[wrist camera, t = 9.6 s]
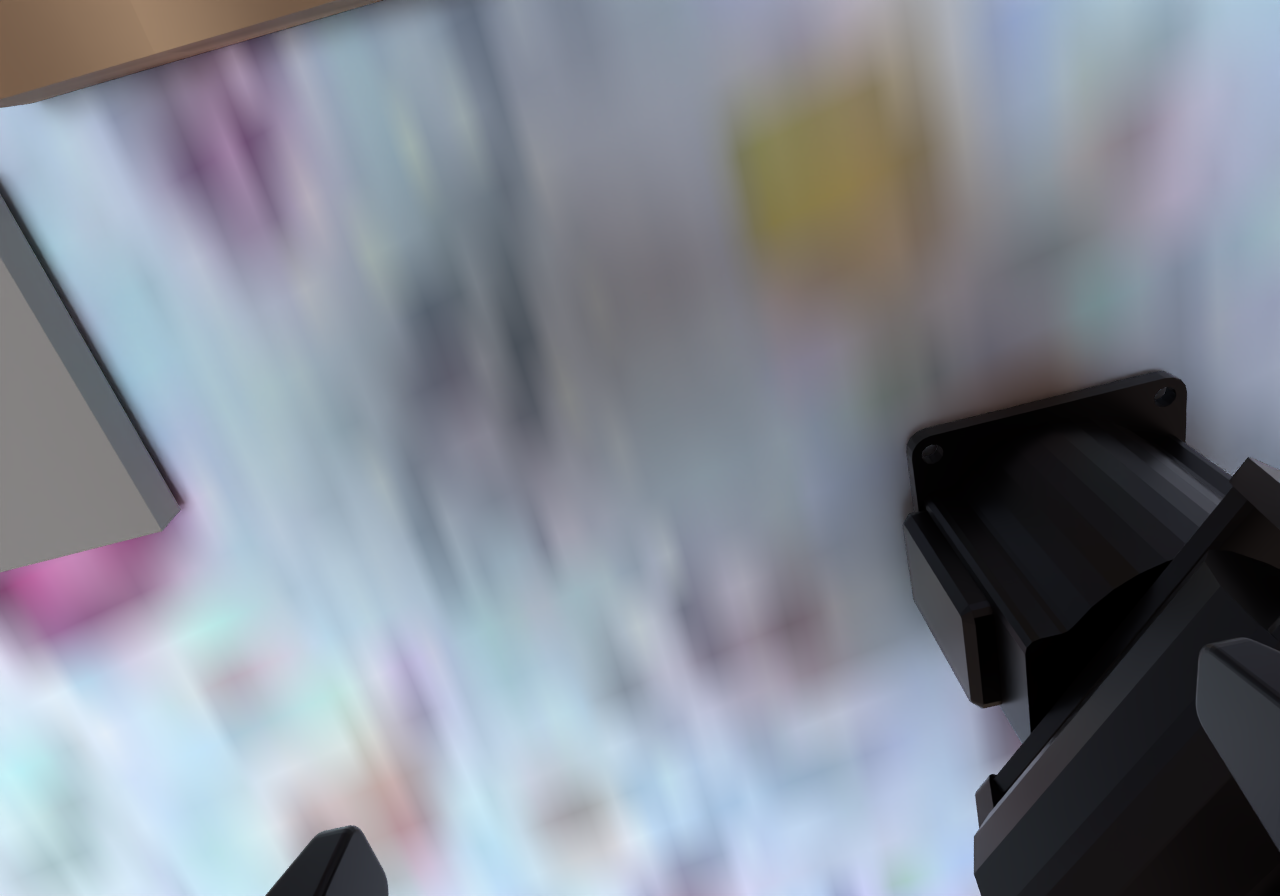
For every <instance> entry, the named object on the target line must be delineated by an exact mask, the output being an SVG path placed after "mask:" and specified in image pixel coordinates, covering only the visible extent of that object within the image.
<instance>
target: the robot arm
mask: <svg viewBox="0 0 1280 896" xmlns="http://www.w3.org/2000/svg"><path fill="white" fill-rule="evenodd" d="M1165 387H1166V391H1165V394H1164V395H1163V396H1162V397H1161V398H1159V399H1157V400H1154V399H1155V395H1156V394H1157V393H1158V391H1159V390H1161V389H1163V388H1165ZM1186 404H1187V390H1186V385H1185V384H1184V383H1183V382H1182V381H1181V380H1180V379H1179V378H1177V377H1175V376H1174V375H1172V374H1170V373H1167V372H1164V371H1160V372H1153V373H1149V374H1145V375H1141V376H1137V377H1133V378H1128V379H1124V380H1120V381H1116V382H1112V383H1108V384H1104V385H1100V386H1096V387H1092V388H1088V389H1084V390H1080V391H1076V392H1072V393H1068V394H1064V395H1060V396H1056V397H1052V398H1047V399H1043V400H1039V401H1035V402H1031V403H1027V404H1023V405H1019V406H1015V407H1011V408H1007V409H1003V410H999V411H995V412H991V413H987V414H983V415H979V416H975V417H971V418H966V419H962V420H958V421H954V422H950V423H946V424H942V425H938V426H934V427H930V428H926V429H923V430H921V431H918V432H917V433H915V434H914V435H913V436H912V437H911V438H910V440H909V442H908V444H907V451H906V452H907V460H908V468H909V475H910V483H911V490H912V498H913V505H914V513H910V514H909V515H908V516H907V518H906V520H905V521H904V523H903V529H904V536H905V543H906V550H907V558H908V565H909V572H910V579H911V586H912V593H913V599H914V601H915V603H916V605H917V607H918V609H919V610H920V612H921V614H922V616H923V618H924V620H925V621H926V623H927V625H928V627H929V629H930V630H931V632H932V634H933V636H934V638H935V639H936V641H937V643H938V645H939V647H940V648H941V650H942V652H943V654H944V656H945V657H946V659H947V661H948V663H949V665H950V666H951V668H952V670H953V672H954V674H955V676H956V677H957V679H958V681H959V683H960V685H961V686H962V688H963V690H964V692H965V694H966V695H967V697H968V699H969V701H970V702H972V703H973V704H975V705H977V706H978V707H980V708H982V709H983V708H988V707H992V706H997V705H999V706H1000V707H1001V709H1002V711H1003V712H1004V714H1005V716H1006V717H1007V719H1008V721H1009V722H1010V724H1011V726H1012V728H1013V729H1014V731H1015V733H1016V734H1017V736H1018V738H1019V739H1020V741H1021V743H1022V745H1021V746H1020V748H1019V749H1018V750H1017V751H1016V752H1015V754H1014V755H1013V756H1012V757H1011V759H1010V760H1009V761H1008V762H1007V763H1006V765H1005V766H1004V767H1003V768H1002V770H1001V771H1000V772H999V773H998V774H997V775H994V774H991V775H989V777H988V778H987V779H986V780H985V782H984V783H983V784H982V785H981V787H980V788H979V789H978V790H977V791H976V794H975V797H976V805H977V814H978V822H979V830H978V831H977V833H976V834H975V836H974V876H975V878H976V881H977V884H978V887H979V890H980V893H981V896H1280V470H1278V469H1276V468H1274V467H1271V466H1269V465H1267V464H1265V463H1262V462H1260V461H1258V460H1256V459H1253V458H1251V457H1248V458H1247V459H1246V460H1245V462H1244V463H1243V464H1242V465H1241V467H1240V468H1239V469H1238V470H1237V471H1236V473H1235V474H1234V475H1233V476H1231V475H1229V474H1228V473H1226V472H1225V471H1224V470H1222V469H1221V468H1219V467H1218V466H1217V465H1215V464H1214V463H1212V462H1211V461H1210V460H1208V459H1207V458H1205V457H1204V456H1203V455H1201V454H1200V453H1198V452H1197V451H1195V450H1194V449H1193V448H1191V447H1190V446H1188V445H1187V444H1186V443H1185V438H1186ZM930 445H937V449H936V451H935V452H934V453H933V454H931V455H929V456H922V453H923V451H924V449H925V448H926V447H928V446H930ZM265 896H388V883H387V878H386V875H385V872H384V870H383V868H382V866H381V865H380V863H379V861H378V859H377V857H376V855H375V854H374V852H373V850H372V848H371V846H370V844H369V843H368V841H367V839H366V837H365V835H364V834H363V832H362V831H361V829H359V828H358V827H356V826H351V825H350V826H345V827H340V828H336V829H331V830H326V831H323V832H321V833H319V834H317V835H316V836H315V837H314V838H313V839H312V840H311V841H310V843H309V844H308V845H307V846H306V847H305V849H304V850H303V851H302V852H301V853H300V855H299V856H298V857H297V858H296V859H295V861H294V862H293V863H292V864H291V865H290V867H289V868H288V869H287V870H286V871H285V873H284V874H283V875H282V876H281V877H280V879H279V880H278V881H277V882H276V883H275V885H274V886H273V887H272V888H271V889H270V891H269V892H268V893H267V894H266V895H265Z"/></svg>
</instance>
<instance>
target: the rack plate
mask: <svg viewBox="0 0 1280 896" xmlns="http://www.w3.org/2000/svg"><path fill="white" fill-rule="evenodd" d="M379 1H382V0H0V108H3V107H10V106H17V105H24V104H31V103H34V102H38V101H41V100H45V99H48V98H51V97H55V96H58V95H62V94H65V93H68V92H72V91H75V90H79V89H82V88H85V87H89V86H92V85H96V84H99V83H103V82H106V81H109V80H113V79H116V78H120V77H123V76H126V75H130V74H133V73H137V72H140V71H143V70H147V69H150V68H154V67H157V66H160V65H164V64H167V63H171V62H174V61H178V60H181V59H184V58H188V57H191V56H195V55H198V54H201V53H205V52H208V51H212V50H215V49H218V48H222V47H225V46H229V45H232V44H236V43H239V42H242V41H246V40H249V39H253V38H256V37H259V36H263V35H266V34H270V33H273V32H276V31H280V30H283V29H287V28H290V27H293V26H297V25H300V24H304V23H307V22H311V21H314V20H317V19H321V18H324V17H328V16H331V15H334V14H338V13H341V12H345V11H348V10H351V9H355V8H358V7H362V6H365V5H368V4H372V3H375V2H379Z"/></svg>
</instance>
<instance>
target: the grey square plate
mask: <svg viewBox="0 0 1280 896" xmlns="http://www.w3.org/2000/svg"><path fill="white" fill-rule="evenodd" d="M180 510H181V509H180V507H179V505H178V504H177V502H176V500H175V498H174V497H173V495H172V493H171V491H170V490H169V488H168V486H167V484H166V483H165V481H164V479H163V477H162V476H161V474H160V472H159V470H158V469H157V467H156V465H155V463H154V462H153V460H152V458H151V456H150V455H149V453H148V451H147V449H146V448H145V446H144V444H143V442H142V441H141V439H140V437H139V435H138V434H137V432H136V430H135V428H134V427H133V425H132V423H131V421H130V420H129V418H128V416H127V414H126V413H125V411H124V409H123V407H122V406H121V404H120V402H119V400H118V399H117V397H116V395H115V393H114V392H113V390H112V388H111V386H110V385H109V383H108V381H107V379H106V378H105V376H104V374H103V372H102V371H101V369H100V367H99V365H98V364H97V362H96V360H95V359H94V357H93V355H92V353H91V352H90V350H89V348H88V346H87V345H86V343H85V341H84V339H83V338H82V336H81V334H80V332H79V331H78V329H77V327H76V325H75V324H74V322H73V320H72V318H71V317H70V315H69V313H68V311H67V310H66V308H65V306H64V304H63V303H62V301H61V299H60V297H59V296H58V294H57V292H56V290H55V289H54V287H53V285H52V283H51V282H50V280H49V278H48V276H47V275H46V273H45V271H44V269H43V268H42V266H41V264H40V262H39V261H38V259H37V257H36V255H35V254H34V252H33V250H32V248H31V247H30V245H29V243H28V241H27V240H26V238H25V236H24V234H23V233H22V231H21V229H20V227H19V226H18V224H17V222H16V220H15V219H14V217H13V215H12V213H11V212H10V210H9V208H8V207H7V205H6V203H5V201H4V200H3V198H2V196H1V194H0V572H3V571H7V570H11V569H15V568H19V567H23V566H27V565H31V564H35V563H39V562H43V561H47V560H51V559H55V558H59V557H62V556H66V555H70V554H74V553H78V552H82V551H86V550H90V549H94V548H98V547H102V546H106V545H110V544H114V543H118V542H121V541H125V540H129V539H133V538H137V537H141V536H145V535H149V534H153V533H157V532H161V531H163V530H164V528H165V527H166V526H167V525H168V524H169V523H170V521H171V520H172V519H173V518H174V517H175V516H176V514H177V513H178V512H179V511H180Z"/></svg>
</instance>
